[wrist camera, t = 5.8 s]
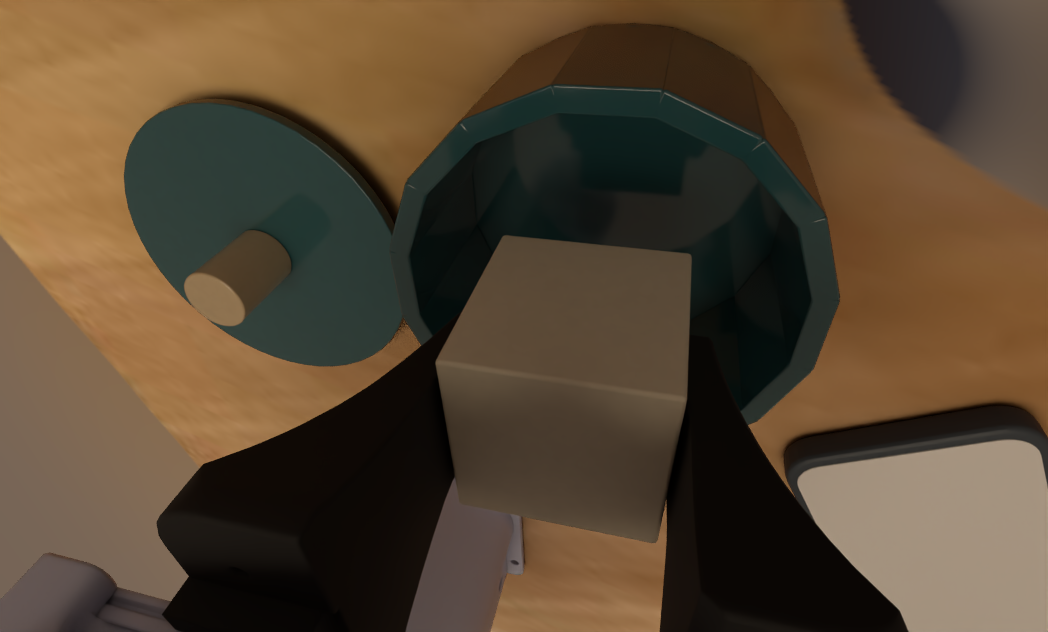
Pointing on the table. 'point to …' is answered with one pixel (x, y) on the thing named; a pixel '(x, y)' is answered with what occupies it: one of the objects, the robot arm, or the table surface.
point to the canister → (635, 193)
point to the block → (570, 384)
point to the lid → (265, 231)
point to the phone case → (938, 514)
